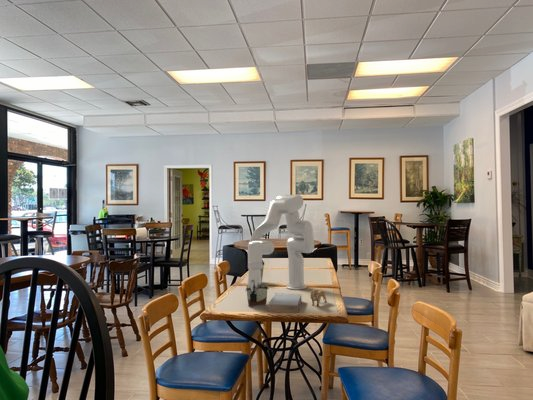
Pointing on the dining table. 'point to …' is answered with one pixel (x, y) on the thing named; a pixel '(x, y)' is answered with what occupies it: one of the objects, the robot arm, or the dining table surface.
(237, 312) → the dining table surface
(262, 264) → the coffee cup
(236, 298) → the dining table surface
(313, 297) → the lion figurine
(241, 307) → the dining table surface
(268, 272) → the dining table surface
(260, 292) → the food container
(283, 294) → the pedestal
